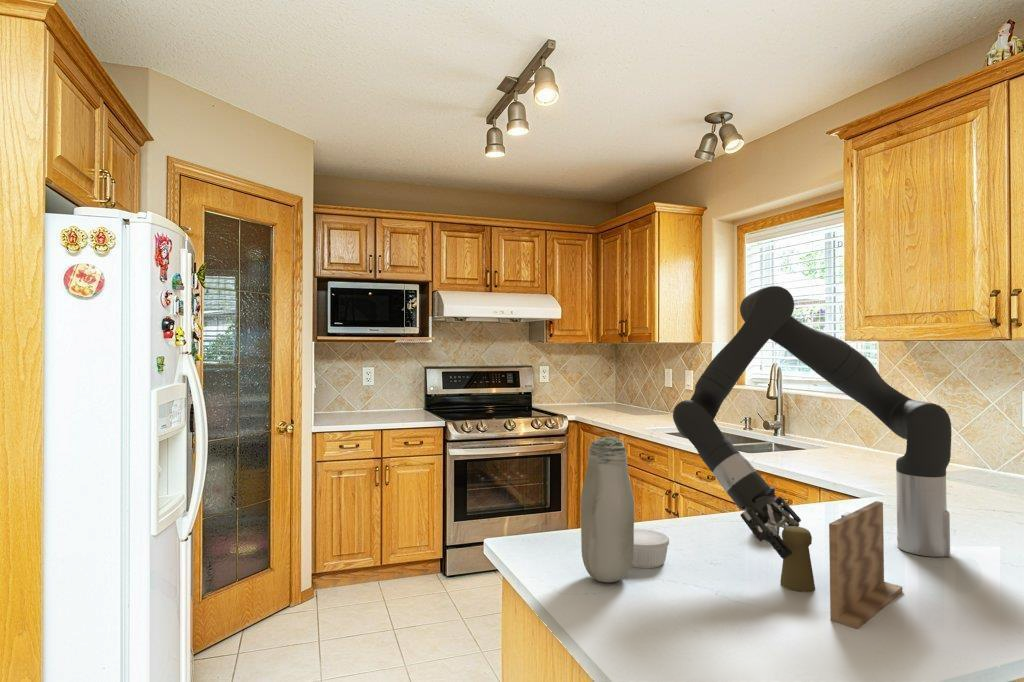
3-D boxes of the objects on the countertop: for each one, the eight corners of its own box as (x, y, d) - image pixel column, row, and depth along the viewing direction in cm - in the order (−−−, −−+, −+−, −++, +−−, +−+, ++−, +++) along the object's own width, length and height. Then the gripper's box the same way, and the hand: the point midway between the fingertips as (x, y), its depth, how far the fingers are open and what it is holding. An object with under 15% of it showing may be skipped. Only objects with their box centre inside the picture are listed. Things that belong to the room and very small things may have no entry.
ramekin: (605, 556, 130) (605, 532, 130) (647, 549, 134) (647, 526, 134) (635, 574, 120) (635, 548, 120) (680, 566, 124) (679, 540, 124)
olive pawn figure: (774, 579, 116) (773, 523, 116) (803, 578, 116) (802, 522, 117) (791, 592, 110) (790, 533, 110) (822, 591, 110) (821, 531, 111)
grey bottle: (623, 593, 110) (621, 442, 110) (573, 582, 115) (572, 438, 116) (641, 576, 118) (640, 435, 119) (594, 566, 124) (593, 432, 124)
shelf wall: (877, 585, 113) (875, 501, 113) (902, 591, 110) (901, 505, 110) (830, 619, 99) (829, 523, 99) (858, 628, 96) (856, 529, 96)
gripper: (735, 475, 115) (795, 549, 106) (769, 465, 124) (828, 533, 116) (710, 497, 119) (767, 570, 110) (745, 486, 128) (800, 553, 119)
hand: (798, 551), depth 113 cm, fingers open, 8 cm apart
